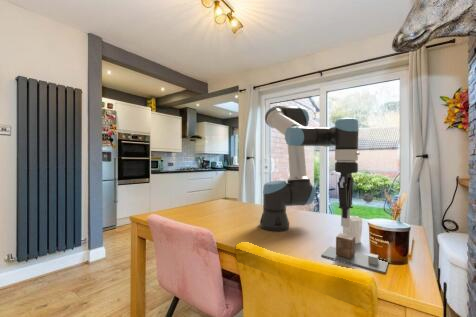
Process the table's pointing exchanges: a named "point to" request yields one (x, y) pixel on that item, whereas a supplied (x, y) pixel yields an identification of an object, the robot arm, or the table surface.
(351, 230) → the white cup
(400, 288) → the table surface
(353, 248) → the brown wooden block
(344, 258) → the stand
